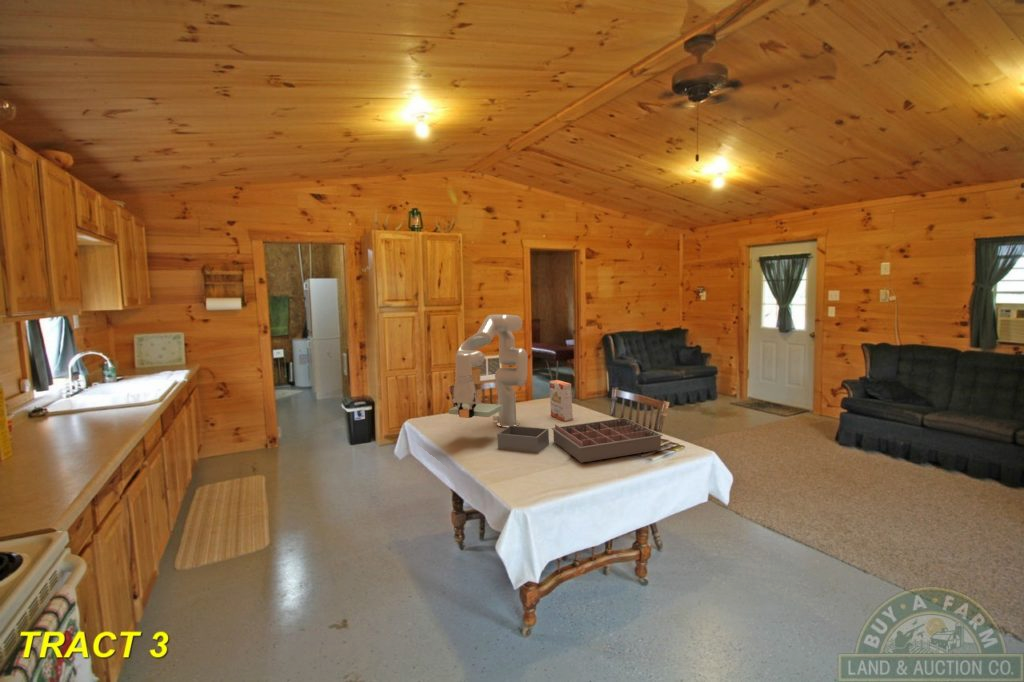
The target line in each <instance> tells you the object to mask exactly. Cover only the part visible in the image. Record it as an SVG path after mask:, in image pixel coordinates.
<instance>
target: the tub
mask: <svg viewBox="0 0 1024 682" xmlns="http://www.w3.org/2000/svg"><path fill="white" fill-rule="evenodd" d="M496 435H497V450H503V449H504V451H506V450H507V451H513V452H525V453H531V454H533V453H534V454H539V453H540V452H542V450H544V448H546V447H547V446H548V445H549V444H550V434H549V428H545V427H532V426H523V425H522V426H521V425H520V426H519V425H518V426H511V425H510V426H509V427H504V429H502V430H501V431H499V432H497V434H496Z"/></svg>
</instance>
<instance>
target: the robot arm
mask: <svg viewBox="0 0 1024 682" xmlns="http://www.w3.org/2000/svg"><path fill="white" fill-rule="evenodd" d="M522 327H523V320H522V318H521V317H520V315H515V314H514V315H513V314H504V313H503V314H489V315H487V316H486V317H485V318H484V320H483V322H482V324H481V325H480V327H479V328H478V331H477V332H476V333H475V334H474V335H473V334H472V335H471V336H470V337H468V338H467V339H466V340H464V341H463V342H462V343H461V344H460V346H459V348H458V349H457V350H456V351H457V352H456V354H455V357H454V358H455V372H456V373H455V376H454V377H453V378H454V379H455V382H454V385H453V398H452V399H451V402H452V403H453V404H454V405H455V407H456V406H457V408H458V413H459V410H461V409H463V407H462V404H463V403H465V404H469V407H470V409H469V417H470V418H471V419H472V418H474V417H475V416H474V408H475V407H476V405H477V404H479V403H481V402H480V400H479V399H478V397H477V391H476V390H477V389H476V385H475V381H473V367H479V366H482V365H483V363H484V362H485V359H486V357H485V354H484V353H483V351H480V350H476V349H480V348H482V347H485V346H487V345H490V344H491V343H492V341H493V339H494V338H495V336H496V335H497V336H498V344H499V345H498V362H499V363H500V365H502V366H503V365H504V366H514V367H500V368H497V370H496V371H495V373H494V379H495V384H496V387H497V389H496V391H497V404H499V405H503V410H501V411H499V412H498V416H497V415H492V416H493V417H492V420H493V421H497V422H498V423H500V425H501V426H510V425H511V426H514V425H517V424H519V425H520V421H519V420H517V405H516V404H517V401H516V391H515V389H514V387H523V386H525V384H526V383H527V378H528V361H529V360H528V358H529V357H528V352H527V350H525V349H524V348H521V347H516V346H515V345H516V343H515V342H516V340H515V335H514V334H513V332H519V331H521V329H522ZM515 366H516V367H515ZM458 417H459V418H461V417H460V414H459V415H458ZM497 422H496V423H497Z"/></svg>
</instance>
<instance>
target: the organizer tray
mask: <svg viewBox="0 0 1024 682" xmlns="http://www.w3.org/2000/svg"><path fill="white" fill-rule="evenodd" d="M550 429H551V430H552V431H553V443H555V444H556V445H558V446H559V447H561V448H562V449H563V451H565V452H567V453H568V454H570V455H571V456H572V457H573V458H575V459H576V460H577V461H579V462H580V463H587V462H592V461H600V460H603V459H604V460H605V459H610V458H611V459H612V458H617V457H618V458H619V457H624V456H629V455H635V454H641V453H642V452H643V453H647V452H654V451H659V450H661V449H662V448H661V447H662V445H661V444H662V442H661V441H662V438H661V437H663V434H661V433H659V432H657V431H654V430H652V429H650V428H648V427H646V426H644V425H642V424H640V423H637V422H635V421H633V420H632V419H629V418H627V417H621V418H613V419H607V420H599V421H592V422H587V423H586V422H585V423H584V422H583V423H579V424H571V425H564V426H559V425H558V424H556V423H555V424H554V427H551V428H550ZM661 451H662V450H661Z"/></svg>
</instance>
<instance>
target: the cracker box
mask: <svg viewBox="0 0 1024 682" xmlns="http://www.w3.org/2000/svg"><path fill="white" fill-rule="evenodd" d="M572 394H573V393H572V383H570V382H565V381H563V380H559V379H554V380H549V401H550V417H552V416H553V418H555V417H556V418H555V419H557V418H558V420H560V421H562V420H563V421H562V422H568V421H569V422H570V421H573V419H574V418H573V397H572Z"/></svg>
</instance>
